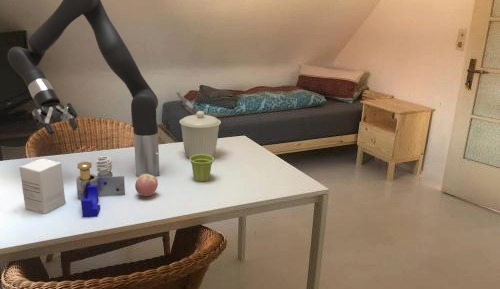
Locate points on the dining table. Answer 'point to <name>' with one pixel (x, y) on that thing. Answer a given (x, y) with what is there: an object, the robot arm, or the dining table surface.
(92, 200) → the cable clip
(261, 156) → the dining table surface
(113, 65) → the robot arm
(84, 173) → the hinge pin
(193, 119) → the canister
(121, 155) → the dining table surface
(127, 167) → the dining table surface
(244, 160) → the dining table surface
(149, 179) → the apple
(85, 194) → the hinge leaf lower
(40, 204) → the supplement box
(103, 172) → the light bulb
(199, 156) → the plant pot
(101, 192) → the hinge leaf upper
